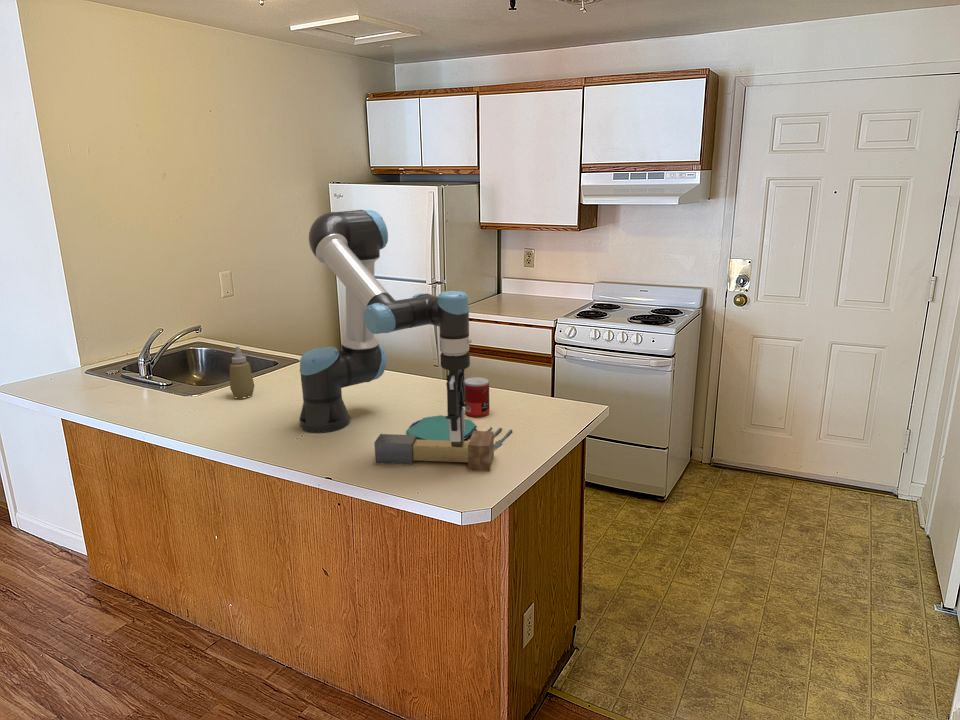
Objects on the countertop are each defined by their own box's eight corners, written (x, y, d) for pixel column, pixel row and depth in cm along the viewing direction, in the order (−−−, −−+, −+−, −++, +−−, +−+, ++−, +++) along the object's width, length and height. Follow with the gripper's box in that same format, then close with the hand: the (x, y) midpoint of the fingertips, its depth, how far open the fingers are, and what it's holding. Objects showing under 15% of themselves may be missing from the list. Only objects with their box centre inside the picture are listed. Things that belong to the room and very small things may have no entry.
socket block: (468, 470, 178) (467, 445, 176) (473, 454, 188) (473, 430, 186) (489, 470, 177) (489, 446, 175) (493, 455, 187) (493, 431, 185)
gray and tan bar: (398, 459, 183) (395, 410, 179) (401, 453, 187) (399, 404, 183) (479, 462, 180) (478, 412, 176) (481, 456, 184) (480, 406, 180)
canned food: (487, 418, 214) (486, 385, 211) (462, 417, 216) (461, 383, 213) (491, 410, 221) (491, 377, 218) (467, 408, 223) (466, 376, 220)
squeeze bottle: (260, 395, 240) (254, 345, 235) (241, 401, 234) (235, 351, 229) (245, 391, 245) (239, 343, 240) (226, 398, 238) (219, 348, 233)
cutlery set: (428, 417, 216) (428, 411, 215) (516, 432, 204) (516, 425, 204) (395, 441, 199) (395, 434, 198) (490, 458, 187) (490, 451, 186)
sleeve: (375, 463, 183) (374, 442, 182) (381, 454, 189) (380, 433, 187) (412, 464, 182) (411, 443, 180) (417, 455, 188) (416, 435, 186)
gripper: (463, 363, 165) (465, 451, 172) (474, 342, 184) (476, 422, 190) (433, 362, 166) (436, 450, 173) (447, 342, 185) (450, 422, 191)
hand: (457, 435), depth 181 cm, fingers open, 7 cm apart
